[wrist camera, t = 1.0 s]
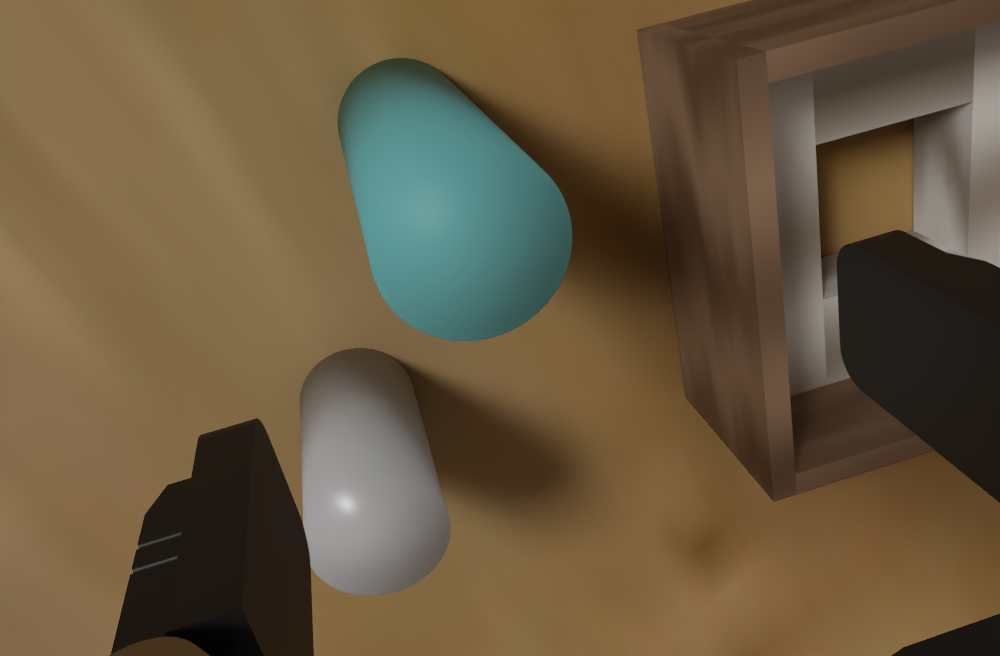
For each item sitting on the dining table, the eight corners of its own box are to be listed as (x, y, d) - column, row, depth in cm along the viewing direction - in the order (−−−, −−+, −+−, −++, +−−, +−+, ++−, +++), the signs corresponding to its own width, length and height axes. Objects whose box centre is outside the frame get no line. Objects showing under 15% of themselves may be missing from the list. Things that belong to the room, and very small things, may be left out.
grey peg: (285, 367, 30) (284, 502, 23) (397, 334, 31) (431, 457, 24) (319, 461, 32) (328, 613, 25) (425, 429, 32) (464, 570, 25)
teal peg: (321, 76, 27) (343, 176, 16) (449, 44, 27) (552, 120, 16) (358, 200, 28) (399, 364, 18) (477, 168, 29) (587, 310, 18)
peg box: (637, 30, 28) (736, 59, 22) (1186, -112, 30) (1419, -122, 24) (685, 397, 34) (773, 501, 28) (1138, 259, 36) (1313, 328, 30)
